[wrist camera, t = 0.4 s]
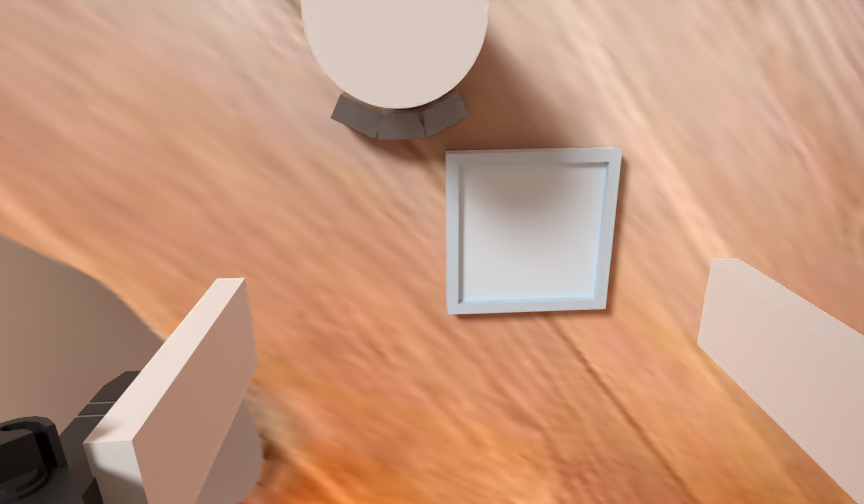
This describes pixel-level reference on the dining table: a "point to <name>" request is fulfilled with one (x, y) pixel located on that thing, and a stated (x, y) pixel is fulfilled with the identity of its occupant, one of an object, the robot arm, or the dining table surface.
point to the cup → (395, 46)
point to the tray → (529, 228)
